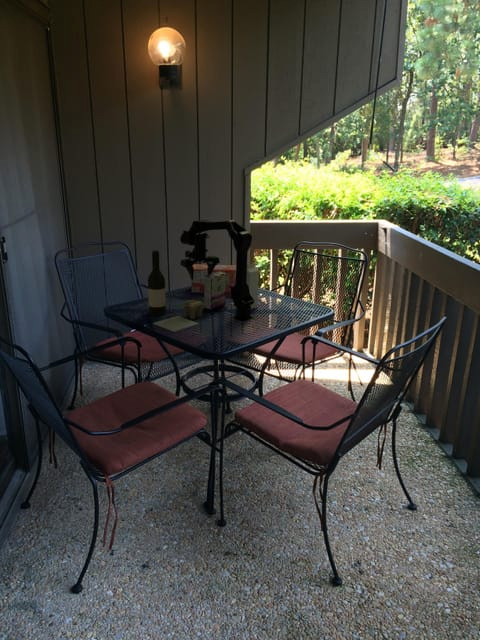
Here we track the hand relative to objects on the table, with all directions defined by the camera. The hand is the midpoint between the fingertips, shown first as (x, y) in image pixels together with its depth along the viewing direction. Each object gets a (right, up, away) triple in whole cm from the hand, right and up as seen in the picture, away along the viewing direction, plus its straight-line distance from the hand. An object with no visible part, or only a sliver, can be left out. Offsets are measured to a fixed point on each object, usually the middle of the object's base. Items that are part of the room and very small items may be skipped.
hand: (200, 278), depth 239 cm
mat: (-9, -22, -21) cm, 32 cm away
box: (+6, -4, +33) cm, 34 cm away
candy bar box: (+7, -13, +5) cm, 16 cm away
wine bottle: (-20, -17, -7) cm, 27 cm away
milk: (+24, -14, +5) cm, 28 cm away
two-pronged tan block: (-3, -18, -10) cm, 21 cm away
